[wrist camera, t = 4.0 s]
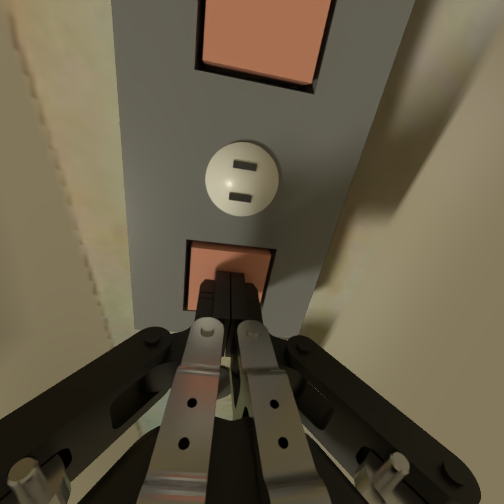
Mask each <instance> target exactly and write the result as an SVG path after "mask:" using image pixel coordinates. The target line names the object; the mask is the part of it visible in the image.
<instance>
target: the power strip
mask: <svg viewBox="0 0 504 504" xmlns="http://www.w3.org/2000/svg"><path fill="white" fill-rule="evenodd" d="M414 3H415V0H331V2H330V6H329V11H328V15H327V19H326V24H325V28H324V32H323V37H322V41H321V45H320V49H319V54H318V58H317V62H316V67H315V71H314V75H313V79H312V83H311V84H308V85H304V86H301V87H298V88H294V87H289V86H284V85H280V84H275V83H270V82H265V81H261V80H256V79H251V78H246V77H242V76H237V75H232V74H227V73H223V72H218V71H213V70H208V69H207V67H206V65H205V63H204V62H203V45H204V28H205V12H206V0H111V5H112V19H113V33H114V47H115V61H116V75H117V89H118V103H119V117H120V131H121V145H122V159H123V173H124V187H125V201H126V215H127V229H128V243H129V257H130V271H131V285H132V299H133V313H134V327H135V329H138V330H143V329H145V328H148V327H154V326H157V327H162V328H165V329H167V330H168V331H174V332H182V331H184V330H186V329H188V328H189V327H190V326H191V325H192V324H193V323H194V320H195V314H196V310H188V297H189V280H190V263H191V247H192V244H193V240H197V241H207V242H216V243H225V244H234V245H243V246H252V247H261V248H269V251H270V254H271V258H270V263H269V267H268V271H267V275H266V280H265V284H264V288H263V293H262V297H261V301H260V307H261V313H262V319H263V324H264V325H265V326H266V327H267V329H268V331H269V333H270V334H271V335H273V336H275V337H281V338H291V337H292V336H296V335H298V334H299V331H300V329H301V326H302V323H303V320H304V317H305V314H306V311H307V309H308V306H309V303H310V300H311V297H312V294H313V291H314V289H315V286H316V283H317V280H318V277H319V274H320V271H321V269H322V266H323V263H324V260H325V257H326V254H327V251H328V249H329V246H330V243H331V240H332V237H333V234H334V231H335V229H336V226H337V223H338V220H339V217H340V214H341V211H342V209H343V206H344V203H345V200H346V197H347V194H348V191H349V188H350V186H351V183H352V180H353V177H354V174H355V171H356V168H357V166H358V163H359V160H360V157H361V154H362V151H363V148H364V146H365V143H366V140H367V137H368V134H369V131H370V128H371V126H372V123H373V120H374V117H375V114H376V111H377V108H378V106H379V103H380V100H381V97H382V94H383V91H384V88H385V86H386V83H387V80H388V77H389V74H390V71H391V68H392V66H393V63H394V60H395V57H396V54H397V51H398V48H399V46H400V43H401V40H402V37H403V34H404V31H405V28H406V26H407V23H408V20H409V17H410V14H411V11H412V8H413V6H414Z"/></svg>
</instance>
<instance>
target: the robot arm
mask: <svg viewBox="0 0 504 504" xmlns="http://www.w3.org/2000/svg"><path fill="white" fill-rule="evenodd" d="M224 353H225V357H231V365H230V370H229V376H230V387H231V398H232V410H233V421H229V420H225V419H222V418H218V417H215V408H216V400H217V391H218V382H219V374H220V363H221V357H224ZM169 388H171V391H170V395H169V398H168V402H167V405H166V409H165V412H164V416H163V419H162V423H161V426H158V427H156V428H154V429H153V430H151V431H149V432H148V433H146V434H145V435H143V436H142V437H141V438H140V439H139V440H137V441H136V442H135V443H134V444H133V445H132V446H131V447H130V448H129V449H128V450H127V452H126V453H125V454H124V455H123V456H122V457H121V458H120V459H119V460H118V461H117V462H116V463H115V464H114V465H113V466H112V467H111V468H110V469H109V471H108V472H107V473H106V474H105V475H104V476H103V477H102V478H101V479H100V480H99V481H98V482H97V483H96V484H95V485H94V486H93V488H92V489H91V490H90V491H89V492H88V493H87V494H86V495H85V496H84V497H83V498H82V499H81V500H80V501H79V502H78V503H77V504H479V502H480V500H481V491H480V488H479V485H478V483H477V481H476V479H475V477H474V475H473V474H472V472H471V471H470V470H469V468H468V467H467V466H466V465H465V464H464V463H463V462H462V461H461V460H460V459H459V458H458V457H457V456H455V455H454V454H453V453H452V452H450V451H449V450H448V449H447V448H446V447H444V446H443V445H442V444H440V443H439V442H438V441H437V440H436V439H434V438H433V437H431V436H430V435H429V434H428V433H427V432H426V431H424V430H423V429H422V428H421V427H419V426H418V425H417V424H416V423H414V422H413V421H412V420H411V419H409V418H408V417H407V416H406V415H404V414H403V413H402V412H401V411H399V410H398V409H397V408H396V407H395V406H393V405H392V404H391V403H389V402H388V401H387V400H386V399H384V398H383V397H382V396H381V395H379V394H378V393H377V392H376V391H374V390H373V389H372V388H371V387H370V386H368V385H367V384H366V383H365V382H363V381H362V380H361V379H360V378H358V377H357V376H356V375H355V374H354V373H352V372H351V371H350V370H349V369H347V368H346V367H345V366H343V365H342V364H341V363H340V362H339V361H337V360H336V359H335V358H334V357H332V356H331V355H330V354H329V353H327V352H326V351H325V350H324V349H322V348H321V347H320V346H319V345H317V344H316V343H315V342H314V341H312V340H311V339H309V338H308V337H305V336H301V335H296V336H292V337H291V338H289V340H288V341H286V340H283V339H280V338H277V337H275V336H273V335H271V334H270V333H269V331H268V329H267V327H266V326H265V325H264V324H263V319H262V313H261V307H260V301H259V295H258V289H257V288H256V287H255V285H254V284H253V283H245V277H244V273H237V272H226V271H216V276H215V280H211V279H205V280H204V281H203V282H202V283H201V284H200V289H199V296H198V302H197V308H196V314H195V320H194V323H193V324H192V325H191V326H190V327H189V328H188V329H186V330H184V331H182V332H178V333H173V334H170V332H169V331H168V330H167V329H165V328H162V327H157V326H154V327H148V328H145V329H143V330H141V331H139V332H138V333H136V334H135V335H133V336H132V337H130V338H128V339H127V340H125V341H124V342H122V343H121V344H119V345H117V346H116V347H114V348H113V349H111V350H109V351H108V352H106V353H105V354H103V355H102V356H100V357H98V358H97V359H95V360H94V361H92V362H91V363H89V364H87V365H86V366H84V367H83V368H81V369H80V370H78V371H77V372H75V373H73V374H72V375H70V376H68V377H67V378H65V379H64V380H62V381H61V382H59V383H57V384H56V385H54V386H53V387H51V388H49V389H48V390H46V391H45V392H43V393H42V394H40V395H38V396H37V397H35V398H34V399H32V400H31V401H29V402H27V403H26V404H24V405H23V406H21V407H20V408H18V409H17V410H15V411H13V412H12V413H10V414H9V415H7V416H5V417H4V418H2V419H1V420H0V504H67V502H68V499H69V496H70V492H71V483H70V482H71V481H72V480H74V479H75V478H76V477H77V476H78V475H79V474H80V473H81V472H82V471H83V470H84V469H85V468H86V467H88V466H89V465H90V464H91V463H92V462H93V461H94V460H95V459H96V458H97V457H98V456H99V455H100V454H101V453H103V452H104V451H105V450H106V449H107V448H108V447H109V446H110V445H111V444H112V443H113V442H114V441H115V440H117V439H118V438H119V437H120V436H121V435H122V434H123V433H124V432H125V431H126V430H127V429H128V428H129V427H131V426H132V425H133V424H134V423H135V422H136V421H137V420H138V419H139V418H140V417H141V416H142V415H143V414H144V413H146V412H147V411H148V410H149V409H150V408H151V407H152V406H153V405H154V404H155V403H156V402H157V401H158V400H160V399H161V398H162V397H163V396H164V395H165V394H166V393H167V391H168V390H169ZM315 388H316V389H317V390H318V391H319V392H318V391H317V390H316V389H315ZM302 424H303V425H304V426H305V427H306V428H307V429H308V430H309V431H310V432H311V433H312V434H313V435H314V437H315V438H316V439H317V440H318V441H319V442H320V443H321V444H322V445H323V446H324V447H325V448H326V449H327V450H328V452H329V453H330V454H331V455H332V456H333V457H334V458H335V459H336V460H337V461H338V462H339V463H340V464H341V465H342V467H343V468H344V469H345V470H346V471H347V472H348V473H349V474H350V475H351V476H352V477H353V478H354V481H355V487H354V485H353V484H352V483H351V482H350V481H349V480H348V479H347V477H346V476H345V475H344V474H343V473H342V472H341V470H340V469H339V468H338V467H337V466H336V465H335V464H334V462H333V461H332V460H331V459H330V458H329V457H328V456H327V454H326V453H325V452H324V451H323V450H322V449H321V448H320V447H319V445H318V444H317V443H316V442H315V441H314V440H313V439H312V438H311V437H310V436H309V435H308V434H306V433H305V432H304V429H303V425H302Z"/></svg>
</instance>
